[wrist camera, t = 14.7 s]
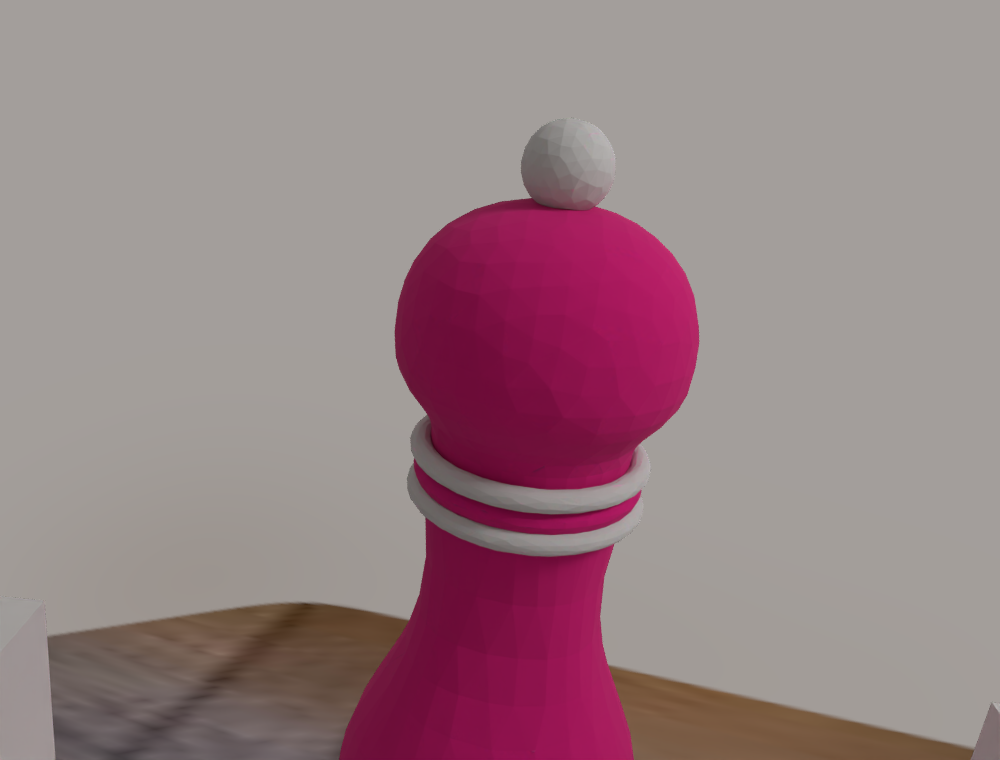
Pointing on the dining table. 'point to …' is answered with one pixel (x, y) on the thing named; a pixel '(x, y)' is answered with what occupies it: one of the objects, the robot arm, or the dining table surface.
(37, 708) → the robot arm
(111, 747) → the dining table surface
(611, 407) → the pepper mill
